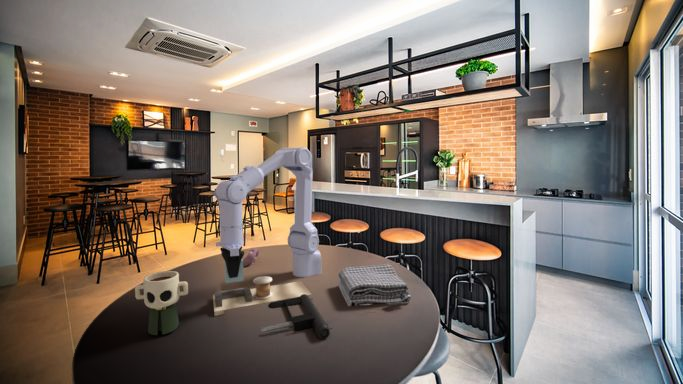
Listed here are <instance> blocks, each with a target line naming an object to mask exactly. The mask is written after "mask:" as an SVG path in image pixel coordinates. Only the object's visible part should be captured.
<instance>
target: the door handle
mask: <svg viewBox="0 0 683 384" xmlns="http://www.w3.org/2000/svg"><path fill="white" fill-rule="evenodd" d="M294 306H301V307H302V309H303V311H304V312H305V313H304V314H298V315H295V316H293V315H292V314H291V311H290V309H289V307H294ZM268 308H269V309H278V308H281V309H282V308H285V309H286V312H287V313H288V316H289V318H290V321H286V322H281V323H276V324H273V325H269V326H265V327H260V331H261V333H262V332H266V333H262V334H258V337H259V338H262V337H268V336H274V335H279V334H284V333H290V332H294V333H297V332H302V331H307V330H312V329H313V331H314V332H315V333H316V335H317V337H319V339H321V340H325V339H328V337H330V330H332V329H333V328H332V327H331V328H330V327H329V325H328V324H327V323H326V321H325V320H324V318H323V316H322V314H320V312H319V310H318V309H317V307H316V305H315V304H314V303H313V300H312V298H310V295H306V294H303V295H301V296H300V297H295V298H289V299H283V300H278V301H272V302H269V304H268ZM283 328H285V329H283ZM277 329H280V330H277ZM274 330H275V331H274ZM267 331H270V332H267Z"/></svg>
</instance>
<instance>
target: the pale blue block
mask: <svg viewBox="0 0 683 384" xmlns="http://www.w3.org/2000/svg"><path fill="white" fill-rule="evenodd" d="M243 259H244V258H242V260H241V263H240V267H239V273H238V277H235V278H229V275H228V271H227V266H226V262H225V261H224V281H225V284H229V283H237V282H243V281H244V280H245V279H244V267H243Z"/></svg>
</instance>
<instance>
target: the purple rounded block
mask: <svg viewBox="0 0 683 384" xmlns="http://www.w3.org/2000/svg"><path fill="white" fill-rule="evenodd" d="M260 253H261V249H260V248H257V247H253V248H251V249H250V251H249V252H248V254H247V255H246V256H245V257H244V258H242V259H243V268H244V267H247V266H248V265H252V264H253V263H254V262H255V261H256V260H257V257H258V256H259V255H260Z"/></svg>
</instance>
